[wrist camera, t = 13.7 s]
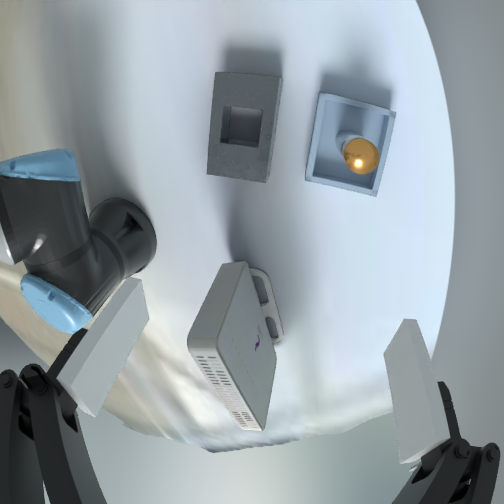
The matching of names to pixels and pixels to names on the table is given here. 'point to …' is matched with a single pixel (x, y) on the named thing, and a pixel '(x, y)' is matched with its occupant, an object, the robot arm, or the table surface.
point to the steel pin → (357, 152)
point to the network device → (237, 343)
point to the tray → (324, 147)
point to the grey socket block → (220, 147)
